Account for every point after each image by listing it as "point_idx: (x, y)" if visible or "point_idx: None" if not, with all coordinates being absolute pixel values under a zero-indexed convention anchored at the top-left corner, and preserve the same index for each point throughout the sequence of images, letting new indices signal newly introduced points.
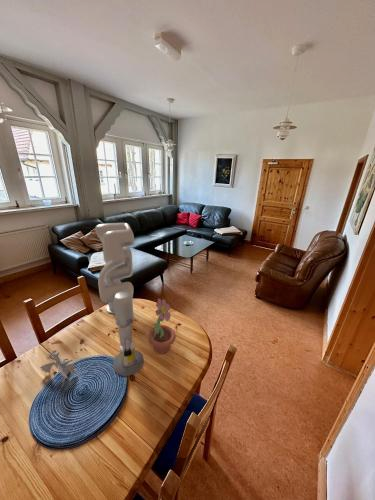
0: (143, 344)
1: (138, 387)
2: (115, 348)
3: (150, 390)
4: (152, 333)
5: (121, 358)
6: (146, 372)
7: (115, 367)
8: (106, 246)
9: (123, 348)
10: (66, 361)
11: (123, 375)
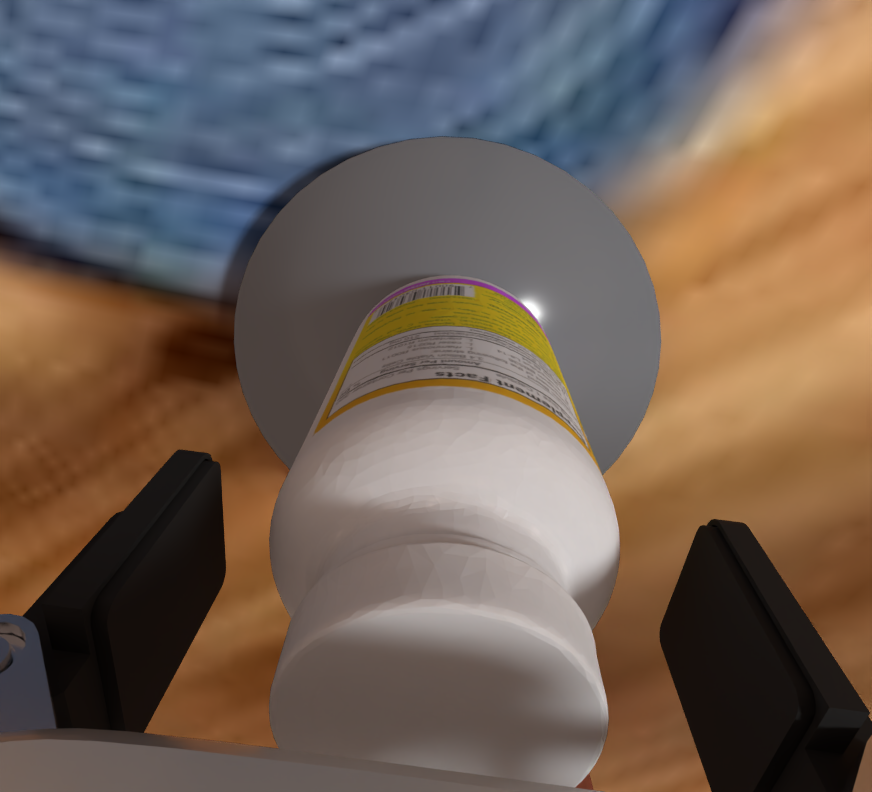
0: (630, 574)
1: (63, 388)
2: (803, 228)
3: (11, 485)
4: None
5: (398, 320)
6: (228, 505)
7: (415, 171)
8: None
9: (344, 514)
10: None
11: (253, 259)
